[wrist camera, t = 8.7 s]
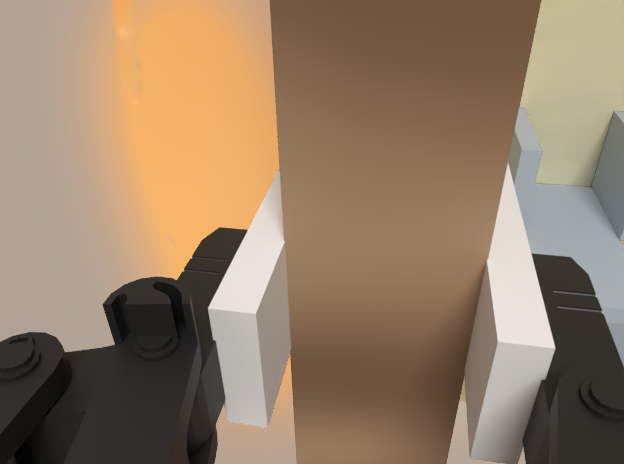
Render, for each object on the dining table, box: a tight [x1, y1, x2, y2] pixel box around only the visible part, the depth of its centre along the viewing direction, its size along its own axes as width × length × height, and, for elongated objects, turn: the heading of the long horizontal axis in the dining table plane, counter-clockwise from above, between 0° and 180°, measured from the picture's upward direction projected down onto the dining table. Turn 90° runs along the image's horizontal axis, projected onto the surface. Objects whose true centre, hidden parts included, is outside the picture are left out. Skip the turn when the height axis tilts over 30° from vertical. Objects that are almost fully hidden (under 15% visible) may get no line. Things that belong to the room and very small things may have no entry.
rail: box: [270, 0, 541, 464], centre depth 12 cm, size 16×4×6 cm, turn 1°
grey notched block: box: [508, 107, 624, 366], centre depth 29 cm, size 10×7×13 cm
